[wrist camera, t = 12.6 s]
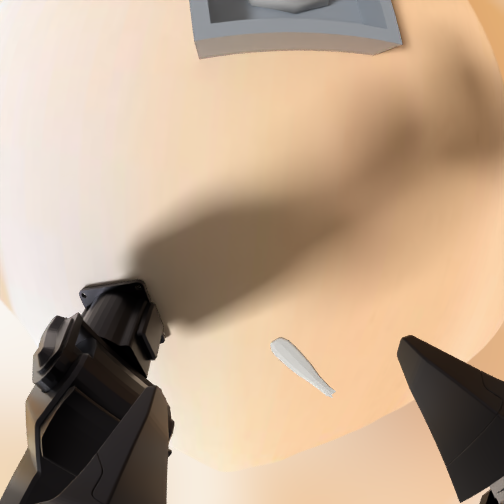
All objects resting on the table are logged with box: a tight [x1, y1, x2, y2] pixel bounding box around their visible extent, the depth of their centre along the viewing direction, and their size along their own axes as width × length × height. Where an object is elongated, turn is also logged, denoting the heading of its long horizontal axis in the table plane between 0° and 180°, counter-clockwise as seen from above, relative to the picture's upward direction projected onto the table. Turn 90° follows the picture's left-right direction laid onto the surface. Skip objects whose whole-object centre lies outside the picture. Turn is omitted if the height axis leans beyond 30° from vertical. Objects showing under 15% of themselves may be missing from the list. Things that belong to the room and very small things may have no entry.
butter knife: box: [270, 337, 336, 398], centre depth 30 cm, size 1×27×3 cm
